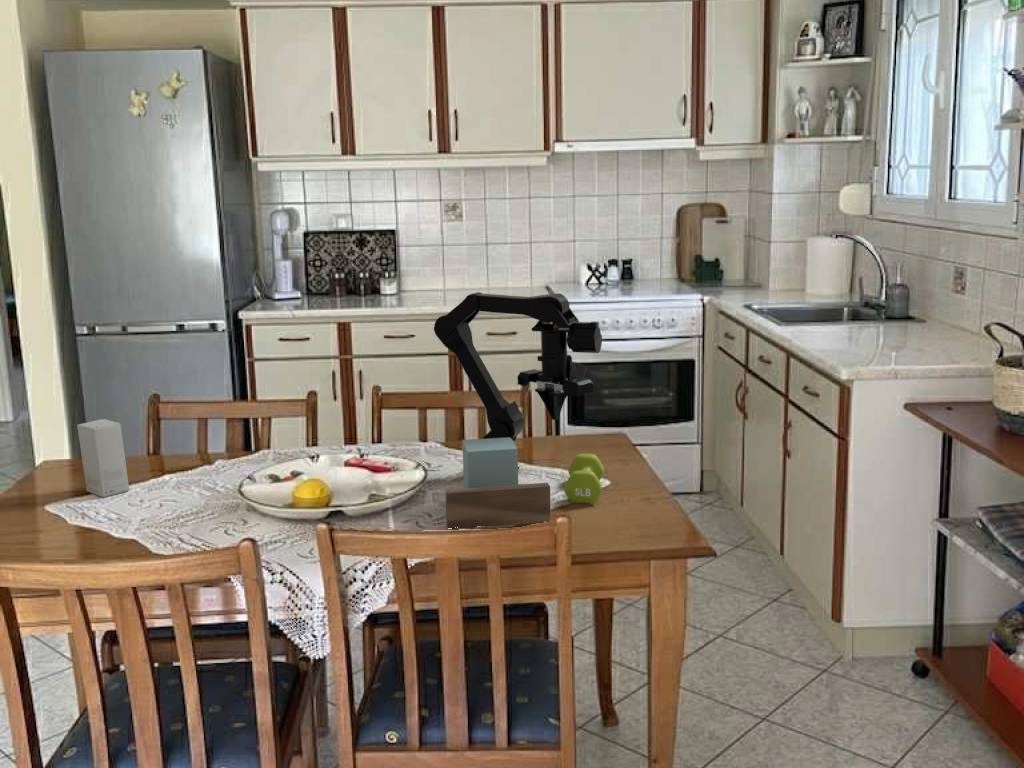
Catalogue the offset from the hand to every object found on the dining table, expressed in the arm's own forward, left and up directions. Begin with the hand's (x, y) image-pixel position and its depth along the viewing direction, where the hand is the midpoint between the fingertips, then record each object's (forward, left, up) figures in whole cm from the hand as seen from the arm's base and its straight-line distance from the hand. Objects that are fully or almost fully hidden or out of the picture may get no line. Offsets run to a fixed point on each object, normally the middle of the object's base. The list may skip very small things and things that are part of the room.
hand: (555, 419), depth 222 cm
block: (+7, -26, -12) cm, 30 cm away
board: (+15, -32, -13) cm, 38 cm away
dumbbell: (+14, -6, -13) cm, 20 cm away
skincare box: (-65, -76, -13) cm, 101 cm away
